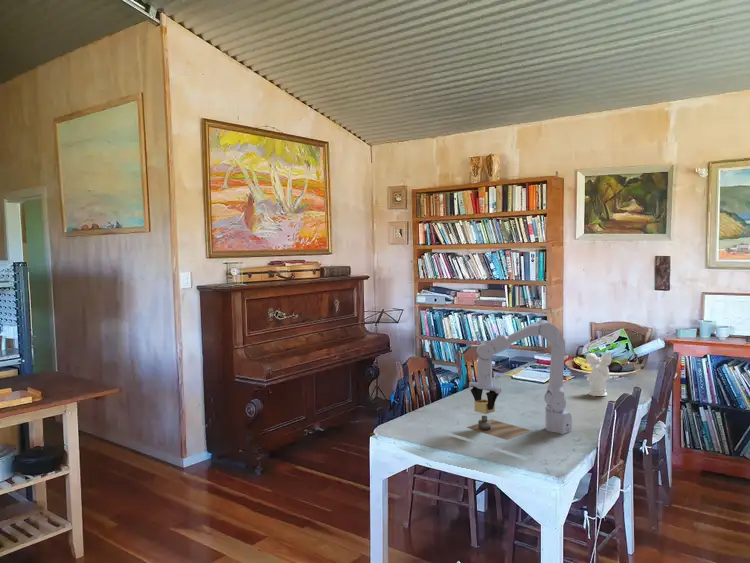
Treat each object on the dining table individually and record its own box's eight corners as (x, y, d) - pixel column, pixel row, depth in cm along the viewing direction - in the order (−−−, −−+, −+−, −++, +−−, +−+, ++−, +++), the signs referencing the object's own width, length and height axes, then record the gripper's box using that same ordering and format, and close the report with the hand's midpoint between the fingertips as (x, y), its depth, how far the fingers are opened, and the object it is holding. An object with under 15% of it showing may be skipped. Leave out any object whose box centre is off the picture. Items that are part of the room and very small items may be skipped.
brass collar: (494, 411, 226) (494, 401, 226) (485, 414, 222) (485, 404, 222) (483, 408, 230) (483, 398, 230) (474, 411, 227) (474, 401, 226)
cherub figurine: (582, 394, 282) (583, 350, 280) (595, 389, 290) (595, 347, 289) (606, 398, 273) (607, 353, 271) (618, 394, 281) (619, 349, 280)
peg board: (532, 433, 224) (532, 418, 224) (507, 442, 214) (507, 426, 213) (491, 421, 239) (491, 407, 239) (466, 429, 229) (466, 415, 229)
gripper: (463, 372, 228) (464, 405, 229) (492, 378, 217) (492, 413, 218) (475, 370, 233) (475, 402, 234) (504, 375, 222) (504, 410, 223)
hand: (484, 407), depth 226 cm, fingers closed on brass collar, 6 cm apart
